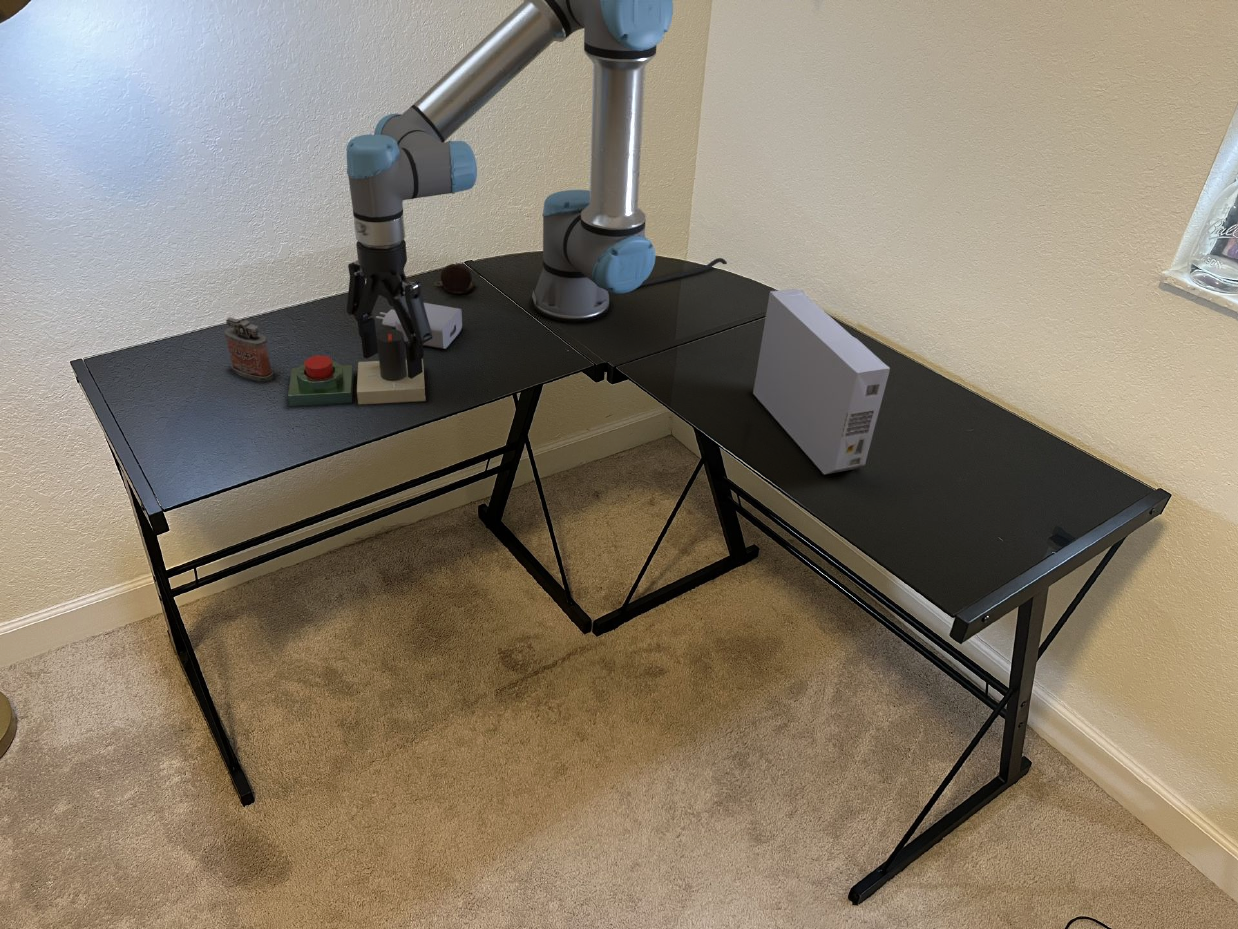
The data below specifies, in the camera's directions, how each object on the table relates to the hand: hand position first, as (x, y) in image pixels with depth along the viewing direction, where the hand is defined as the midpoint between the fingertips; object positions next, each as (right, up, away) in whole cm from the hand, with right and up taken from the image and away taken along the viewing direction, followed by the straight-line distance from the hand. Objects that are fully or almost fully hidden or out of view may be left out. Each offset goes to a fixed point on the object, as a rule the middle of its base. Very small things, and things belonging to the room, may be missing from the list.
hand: (392, 364), depth 160 cm
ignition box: (-12, -4, 0) cm, 13 cm away
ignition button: (-12, -1, -2) cm, 12 cm away
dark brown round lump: (+4, +19, +34) cm, 39 cm away
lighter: (-25, -1, +4) cm, 25 cm away
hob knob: (0, -2, +1) cm, 2 cm away
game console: (+69, -12, -2) cm, 70 cm away
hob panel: (-1, -4, +3) cm, 4 cm away
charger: (0, +8, +18) cm, 20 cm away
